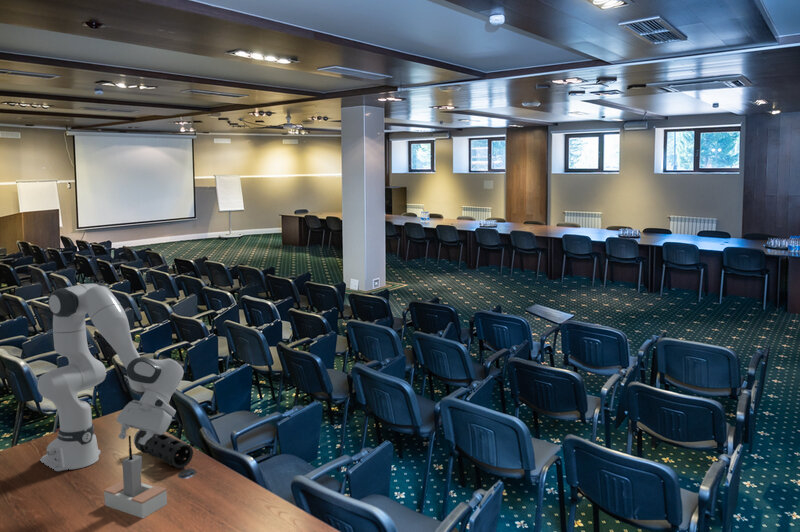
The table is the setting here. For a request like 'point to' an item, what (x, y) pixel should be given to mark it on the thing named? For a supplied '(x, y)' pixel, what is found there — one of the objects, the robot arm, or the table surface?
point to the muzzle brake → (165, 449)
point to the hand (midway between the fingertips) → (130, 441)
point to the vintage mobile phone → (132, 474)
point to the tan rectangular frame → (136, 499)
